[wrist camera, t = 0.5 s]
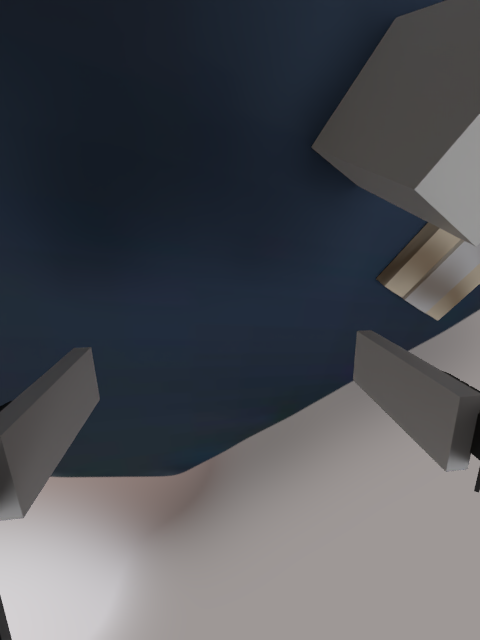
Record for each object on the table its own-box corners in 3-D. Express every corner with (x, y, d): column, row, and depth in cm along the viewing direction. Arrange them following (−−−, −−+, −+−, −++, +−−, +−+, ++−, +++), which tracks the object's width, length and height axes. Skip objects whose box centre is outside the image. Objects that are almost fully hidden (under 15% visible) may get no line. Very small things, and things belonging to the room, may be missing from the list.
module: (357, 185, 24) (501, 259, 13) (310, 147, 22) (437, 199, 11) (441, 76, 20) (725, 58, 10) (395, 17, 18) (697, -86, 8)
